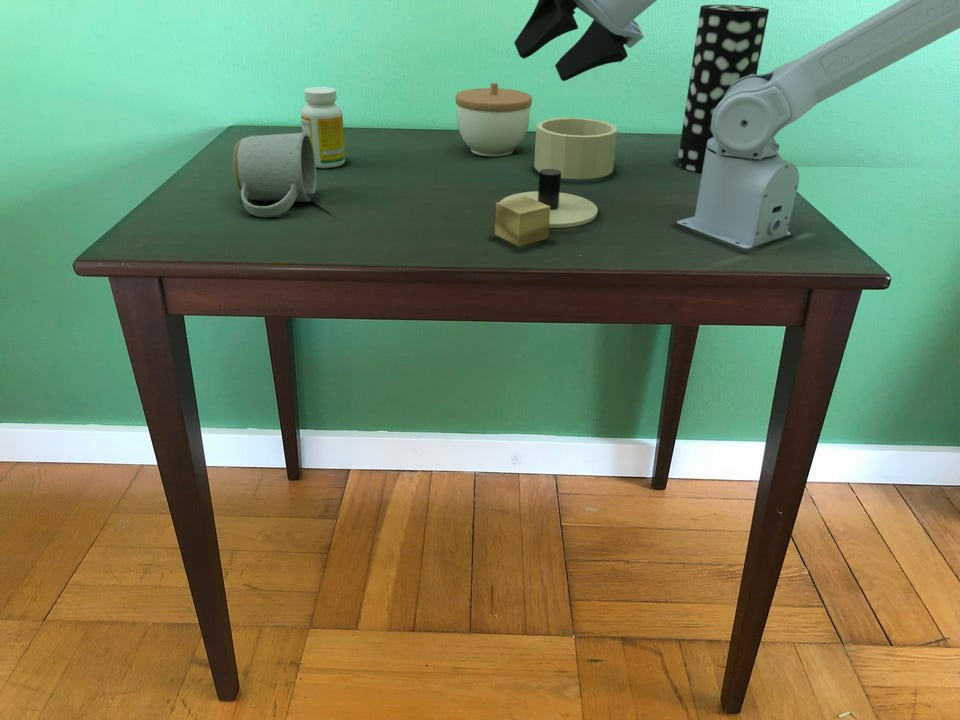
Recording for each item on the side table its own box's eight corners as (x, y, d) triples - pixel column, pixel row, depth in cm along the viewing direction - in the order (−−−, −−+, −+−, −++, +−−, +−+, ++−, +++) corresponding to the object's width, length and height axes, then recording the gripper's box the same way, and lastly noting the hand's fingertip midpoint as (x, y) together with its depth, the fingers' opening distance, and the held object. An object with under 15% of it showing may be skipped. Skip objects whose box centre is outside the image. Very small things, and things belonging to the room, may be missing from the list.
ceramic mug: (251, 188, 94) (243, 124, 90) (319, 189, 94) (313, 125, 90) (227, 219, 85) (216, 150, 81) (302, 221, 85) (295, 151, 81)
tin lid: (617, 220, 87) (622, 176, 84) (541, 240, 81) (544, 193, 78) (552, 194, 94) (554, 152, 92) (478, 211, 88) (479, 167, 86)
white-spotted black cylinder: (716, 177, 102) (745, 13, 92) (665, 163, 107) (687, 6, 97) (750, 166, 107) (781, 9, 97) (700, 154, 112) (724, 3, 102)
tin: (628, 174, 102) (633, 129, 99) (570, 187, 97) (574, 140, 94) (575, 156, 109) (578, 114, 106) (518, 168, 104) (520, 123, 101)
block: (548, 243, 80) (550, 206, 78) (518, 251, 78) (520, 213, 76) (523, 231, 83) (525, 195, 81) (494, 239, 81) (495, 202, 79)
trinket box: (523, 163, 106) (526, 93, 101) (447, 157, 107) (447, 88, 103) (534, 144, 115) (537, 78, 110) (464, 139, 117) (464, 74, 112)
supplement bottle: (298, 167, 102) (291, 92, 97) (314, 156, 107) (308, 84, 102) (337, 170, 101) (331, 94, 96) (351, 159, 106) (346, 86, 101)
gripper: (660, -27, 83) (564, 55, 91) (589, -92, 72) (486, 8, 79) (686, 24, 81) (585, 104, 88) (617, -35, 70) (508, 62, 77)
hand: (539, 62), depth 84 cm, fingers open, 7 cm apart
